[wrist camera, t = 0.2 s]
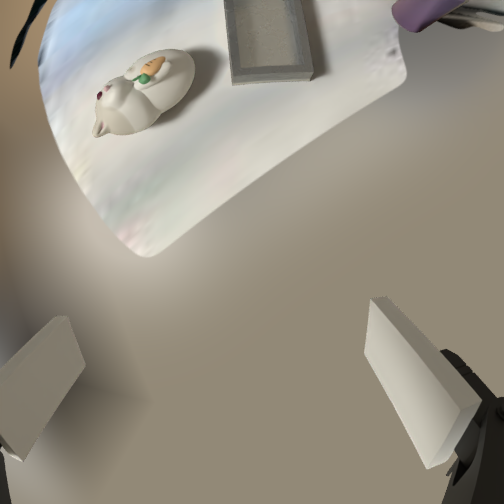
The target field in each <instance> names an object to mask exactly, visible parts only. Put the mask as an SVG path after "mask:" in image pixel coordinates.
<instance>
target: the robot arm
mask: <svg viewBox="0 0 504 504" xmlns="http://www.w3.org/2000/svg"><path fill="white" fill-rule="evenodd" d="M364 354H365V356H366V358H367V360H368V361H369V363H370V365H371V367H372V368H373V370H374V372H375V374H376V375H377V377H378V379H379V381H380V382H381V384H382V386H383V388H384V390H385V391H386V393H387V395H388V397H389V399H390V400H391V402H392V404H393V406H394V408H395V410H396V412H397V413H398V415H399V417H400V419H401V421H402V423H403V425H404V426H405V428H406V430H407V432H408V434H409V436H410V438H411V440H412V442H413V444H414V446H415V448H416V449H417V451H418V453H419V455H420V457H421V459H422V461H423V463H424V465H425V467H426V469H430V468H432V467H434V466H437V465H439V464H441V463H444V462H446V461H447V460H448V459H449V457H450V455H451V454H452V452H453V451H454V450H455V452H456V454H457V455H458V458H457V460H456V461H455V462H454V464H453V465H452V467H451V468H450V469H449V471H448V472H447V474H446V476H449V475H450V473H451V472H452V475H451V478H450V481H449V484H448V487H447V490H446V493H445V496H444V499H443V501H442V504H504V397H499V398H497V397H496V396H495V395H494V394H493V393H492V392H491V391H490V390H489V389H488V387H487V386H486V385H485V384H484V383H483V382H482V381H481V379H480V378H479V377H478V376H477V375H476V374H475V373H473V372H472V370H471V369H470V367H468V366H466V363H465V362H464V361H463V360H462V359H461V358H460V357H459V356H458V355H457V354H455V353H453V352H451V351H449V350H447V349H444V350H441V351H439V350H438V349H437V348H436V347H435V346H434V345H433V344H432V343H431V341H430V340H429V339H428V338H427V337H426V336H425V335H424V334H423V333H422V332H421V331H420V330H419V329H418V328H417V326H416V325H415V324H414V323H413V322H412V321H411V320H410V319H409V318H408V317H407V316H406V315H405V314H404V313H403V312H402V311H401V310H400V309H399V308H398V307H397V306H396V305H395V304H394V303H393V302H392V301H391V300H390V299H389V298H388V297H387V296H385V297H378V298H371V299H370V309H369V319H368V328H367V337H366V345H365V351H364ZM85 366H86V364H85V362H84V359H83V357H82V354H81V352H80V349H79V346H78V344H77V341H76V338H75V336H74V333H73V330H72V327H71V324H70V321H69V318H68V316H55V317H54V318H53V319H52V320H51V321H50V322H49V323H48V324H47V325H45V326H44V328H42V329H41V330H40V331H39V332H38V333H37V334H36V335H35V336H34V337H33V338H32V339H31V340H30V341H28V342H27V343H26V344H25V345H24V347H22V348H21V349H20V351H18V352H17V353H16V354H15V355H14V356H13V357H12V358H11V359H10V360H9V361H8V362H7V363H6V364H5V365H4V366H3V367H2V368H1V369H0V448H1V447H2V446H3V448H4V449H5V450H6V451H7V452H8V454H9V455H10V456H11V457H13V458H15V459H17V460H20V461H22V462H24V460H25V459H26V457H27V455H28V453H29V452H30V450H31V448H32V447H33V445H34V443H35V442H36V440H37V439H38V437H39V435H40V434H41V432H42V430H43V429H44V427H45V426H46V424H47V423H48V421H49V419H50V418H51V416H52V415H53V413H54V412H55V410H56V409H57V407H58V405H59V404H60V403H61V401H62V400H63V398H64V397H65V395H66V394H67V392H68V391H69V389H70V388H71V386H72V385H73V383H74V382H75V380H76V379H77V378H78V376H79V375H80V373H81V372H82V370H83V369H84V368H85ZM0 504H11V499H10V494H9V489H8V483H7V477H6V471H5V463H4V456H3V454H2V452H1V451H0Z"/></svg>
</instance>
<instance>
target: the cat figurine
mask: <svg viewBox="0 0 504 504" xmlns="http://www.w3.org/2000/svg"><path fill="white" fill-rule="evenodd" d="M194 76H195V63H194V60H193V58H192V57H191V56H190V55H189V54H188V53H186V52H184V51H182V50H177V49H165V50H160V51H156V52H153V53H150V54H148V55H146V56H144V57H142V58H140V59H139V60H137V61H136V62H135V63H134V64H133V65H132V66H131V67H130V68H129V69H128V70H127V71H126V73H125V74H124V76H121V77H117V78H114V79H112V80H111V81H109V82H108V83H107V84H105V86H104V87H103V88H102V90H101V91H100V92H99V93H98V94H97V102H96V107H95V113H96V122H95V125H94V127H93V131H92V134H93V136H94V137H96V138H98V137H101V136H103V135H105V134H107V133H111V134H114V135H129V134H134V133H137V132H140V131H142V130H145V129H146V128H148V127H149V126H151V125H152V124H153V123H154V122H155V121H156V120H157V119H158V117H159V116H160V115H161V113H163V112H165V111H167V110H169V109H170V108H172V107H173V106H175V105H176V104H177V103H178V102H179V101H180V100H181V99H182V98H183V97H184V96H185V94H186V93H187V92H188V90H189V88H190V86H191V84H192V82H193V79H194Z"/></svg>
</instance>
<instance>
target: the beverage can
mask: <svg viewBox="0 0 504 504" xmlns="http://www.w3.org/2000/svg"><path fill="white" fill-rule="evenodd" d="M468 1H469V0H398V1H397V2H396V3H395V4H394V5H393V6H392V15H393V18H394V20H395V21H396V22H397V24H398V25H399V26H401V27H402V28H403V29H405V30H407V31H410V32H416V33H417V32H421V31H422V30H423V29H425V28H427V27H428V26H429V25H431V24H432V23H434V22H436V21H437V20H439V19H440V18H442V17H443V16H445V15H447V14H448V13H450V12H451V11H453V10H455V9H456V8H458V7H460V6H461V5H463V4H465V3H466V2H468Z"/></svg>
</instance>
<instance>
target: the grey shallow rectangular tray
mask: <svg viewBox="0 0 504 504" xmlns="http://www.w3.org/2000/svg"><path fill="white" fill-rule="evenodd" d="M224 9H225V19H226V29H227V39H228V49H229V59H230V69H231V78H232V86H235V85H245V84H256V83H271V82H296V81H310V80H311V76H312V74H313V73H314V69H313V63H312V56H311V51H310V45H309V39H308V34H307V28H306V23H305V18H304V13H303V9H302V4H301V0H224Z"/></svg>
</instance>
